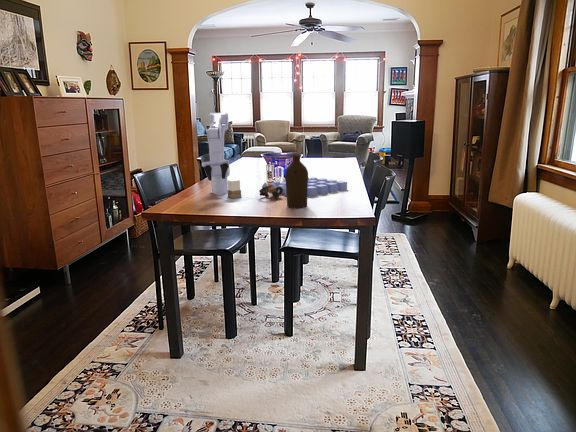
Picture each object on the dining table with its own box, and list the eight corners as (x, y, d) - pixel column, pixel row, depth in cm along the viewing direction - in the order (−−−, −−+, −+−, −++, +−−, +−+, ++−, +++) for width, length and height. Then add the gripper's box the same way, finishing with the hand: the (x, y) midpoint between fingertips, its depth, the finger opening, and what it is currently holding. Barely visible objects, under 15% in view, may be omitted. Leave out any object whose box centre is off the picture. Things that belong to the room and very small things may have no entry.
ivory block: (228, 189, 231) (227, 180, 229) (235, 188, 233) (235, 179, 232) (232, 191, 227) (232, 181, 226) (240, 189, 230) (239, 180, 228)
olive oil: (312, 207, 208) (311, 153, 202) (291, 209, 204) (290, 154, 198) (302, 202, 217) (301, 151, 211) (282, 205, 213) (281, 152, 207)
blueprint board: (216, 197, 235) (216, 196, 235) (235, 194, 242) (235, 193, 242) (233, 202, 221) (233, 201, 221) (253, 199, 228) (253, 198, 228)
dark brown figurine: (266, 203, 221) (259, 188, 221) (262, 207, 230) (255, 193, 230) (287, 194, 225) (280, 180, 225) (283, 199, 234) (276, 185, 234)
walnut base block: (227, 197, 232) (227, 189, 231) (236, 196, 235) (236, 188, 234) (232, 198, 228) (232, 191, 227) (241, 197, 231) (240, 189, 230)
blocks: (299, 200, 226) (298, 190, 225) (259, 190, 252) (258, 182, 251) (347, 190, 247) (347, 181, 246) (305, 183, 273) (305, 175, 272)
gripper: (205, 154, 216) (207, 182, 219) (231, 151, 224) (233, 178, 227) (199, 153, 221) (201, 180, 225) (225, 150, 230) (226, 177, 233)
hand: (216, 179), depth 226 cm, fingers open, 7 cm apart
